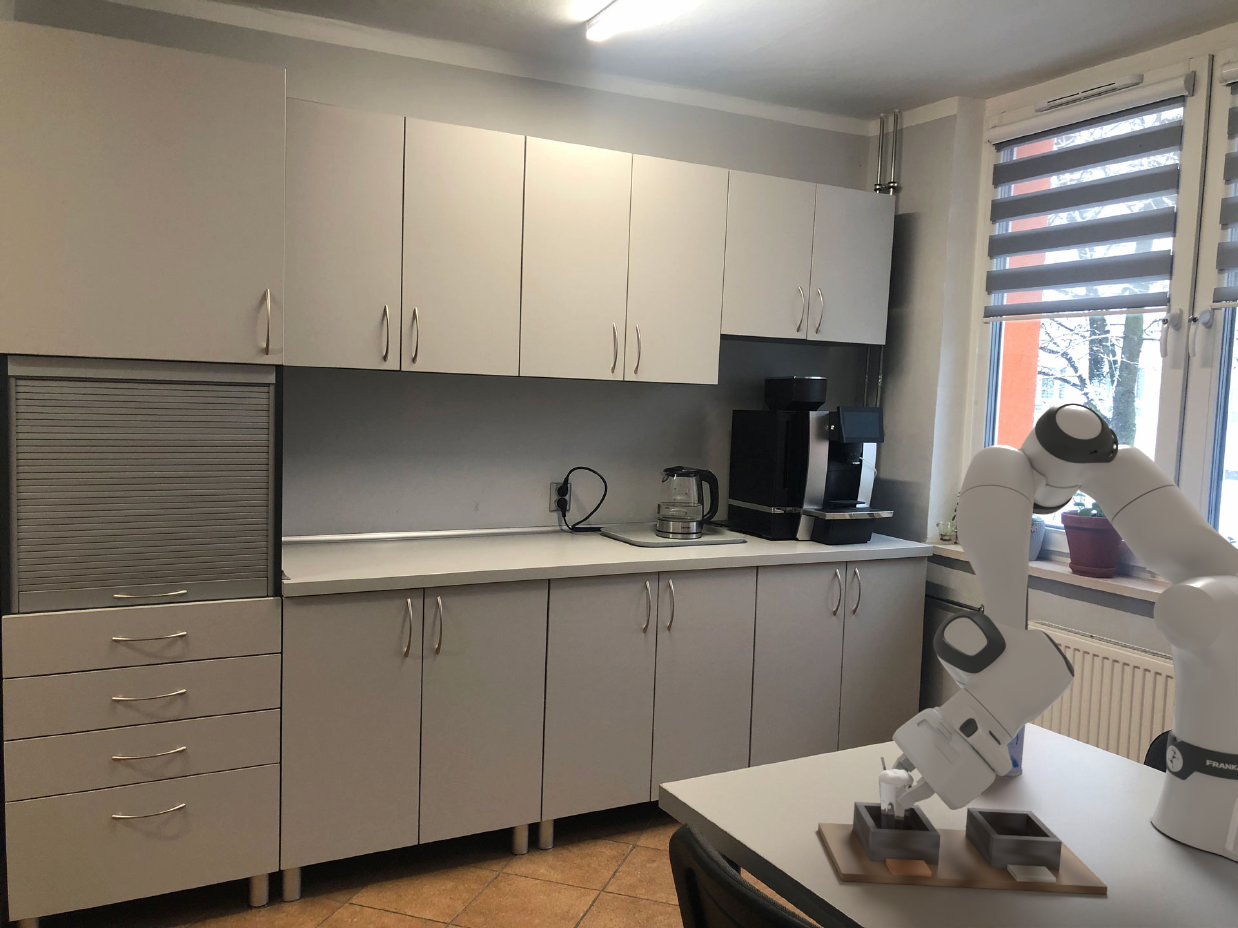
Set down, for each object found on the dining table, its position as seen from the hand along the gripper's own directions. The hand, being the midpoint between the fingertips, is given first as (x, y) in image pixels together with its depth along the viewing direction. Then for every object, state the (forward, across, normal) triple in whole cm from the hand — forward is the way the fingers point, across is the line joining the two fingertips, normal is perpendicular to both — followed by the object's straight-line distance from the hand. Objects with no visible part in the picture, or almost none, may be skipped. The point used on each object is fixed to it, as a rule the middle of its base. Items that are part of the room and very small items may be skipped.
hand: (893, 794), depth 124 cm
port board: (0, +1, +12) cm, 12 cm away
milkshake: (+4, 0, +4) cm, 6 cm away
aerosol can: (-14, -33, +26) cm, 44 cm away
